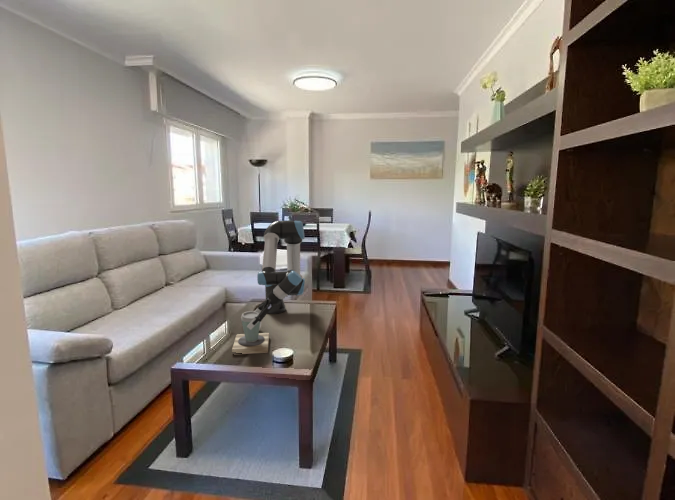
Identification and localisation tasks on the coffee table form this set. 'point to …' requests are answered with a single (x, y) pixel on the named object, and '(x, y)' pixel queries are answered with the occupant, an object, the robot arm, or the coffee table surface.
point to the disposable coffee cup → (249, 334)
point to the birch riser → (251, 344)
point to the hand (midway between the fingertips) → (250, 322)
